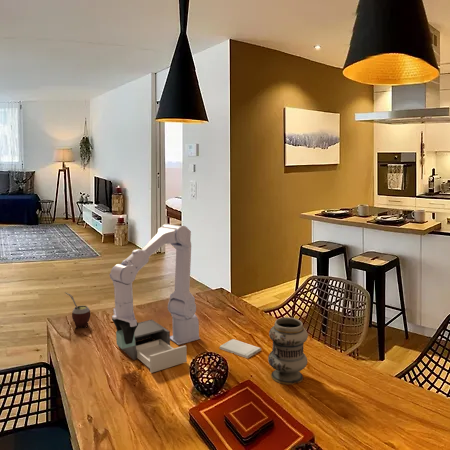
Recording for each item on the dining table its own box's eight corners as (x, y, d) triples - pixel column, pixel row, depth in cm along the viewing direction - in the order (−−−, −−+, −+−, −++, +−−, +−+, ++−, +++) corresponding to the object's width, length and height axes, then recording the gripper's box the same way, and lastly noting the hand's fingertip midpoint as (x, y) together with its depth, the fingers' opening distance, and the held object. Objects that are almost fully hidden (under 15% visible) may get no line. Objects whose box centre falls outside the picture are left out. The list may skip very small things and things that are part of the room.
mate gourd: (94, 325, 181) (92, 290, 178) (79, 332, 174) (76, 295, 172) (82, 321, 185) (80, 287, 182) (66, 328, 178) (64, 292, 176)
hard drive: (219, 346, 159) (247, 355, 151) (233, 338, 165) (261, 347, 157) (219, 350, 159) (247, 360, 151) (233, 342, 165) (261, 351, 157)
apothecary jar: (282, 390, 131) (283, 332, 128) (260, 372, 141) (261, 318, 138) (314, 380, 136) (316, 324, 133) (291, 364, 147) (292, 312, 144)
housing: (152, 336, 170) (151, 319, 168) (170, 349, 158) (169, 331, 157) (117, 345, 161) (116, 327, 160) (133, 359, 150) (132, 340, 149)
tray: (162, 344, 162) (162, 329, 161) (186, 361, 148) (186, 345, 147) (129, 353, 154) (128, 338, 153) (151, 372, 141) (150, 356, 140)
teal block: (129, 340, 149) (128, 328, 148) (135, 345, 145) (134, 332, 145) (116, 344, 146) (116, 331, 146) (122, 349, 143) (121, 335, 142)
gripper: (103, 297, 147) (105, 336, 149) (121, 309, 135) (122, 351, 138) (123, 293, 151) (125, 331, 153) (142, 305, 139) (143, 345, 142)
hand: (125, 340), depth 146 cm, fingers closed on teal block, 4 cm apart
